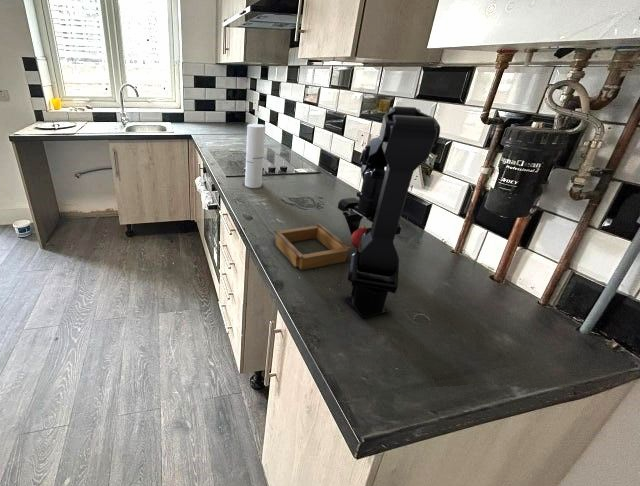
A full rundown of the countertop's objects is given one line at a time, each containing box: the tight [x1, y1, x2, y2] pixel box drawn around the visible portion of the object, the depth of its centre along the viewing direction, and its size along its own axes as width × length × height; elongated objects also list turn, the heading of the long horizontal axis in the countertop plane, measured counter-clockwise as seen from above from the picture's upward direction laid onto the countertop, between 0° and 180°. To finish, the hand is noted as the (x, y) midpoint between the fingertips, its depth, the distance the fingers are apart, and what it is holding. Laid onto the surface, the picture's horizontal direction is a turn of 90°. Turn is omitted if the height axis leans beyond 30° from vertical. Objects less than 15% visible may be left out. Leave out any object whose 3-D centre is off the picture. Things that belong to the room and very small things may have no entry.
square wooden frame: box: [273, 222, 352, 271], centre depth 89 cm, size 15×15×4 cm
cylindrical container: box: [244, 123, 266, 189], centre depth 133 cm, size 7×7×25 cm
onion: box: [350, 224, 367, 250], centre depth 89 cm, size 6×6×8 cm
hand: (361, 243), depth 90 cm, fingers open, 6 cm apart
